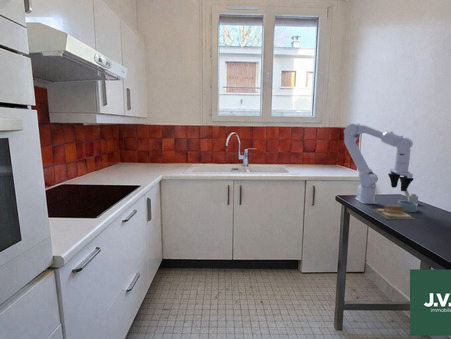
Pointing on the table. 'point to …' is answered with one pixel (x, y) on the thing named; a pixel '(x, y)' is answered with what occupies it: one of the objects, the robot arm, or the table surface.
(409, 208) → the bowl
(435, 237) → the table surface
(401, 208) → the lid
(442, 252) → the table surface
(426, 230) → the table surface
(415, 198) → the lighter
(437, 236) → the table surface
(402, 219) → the mat
